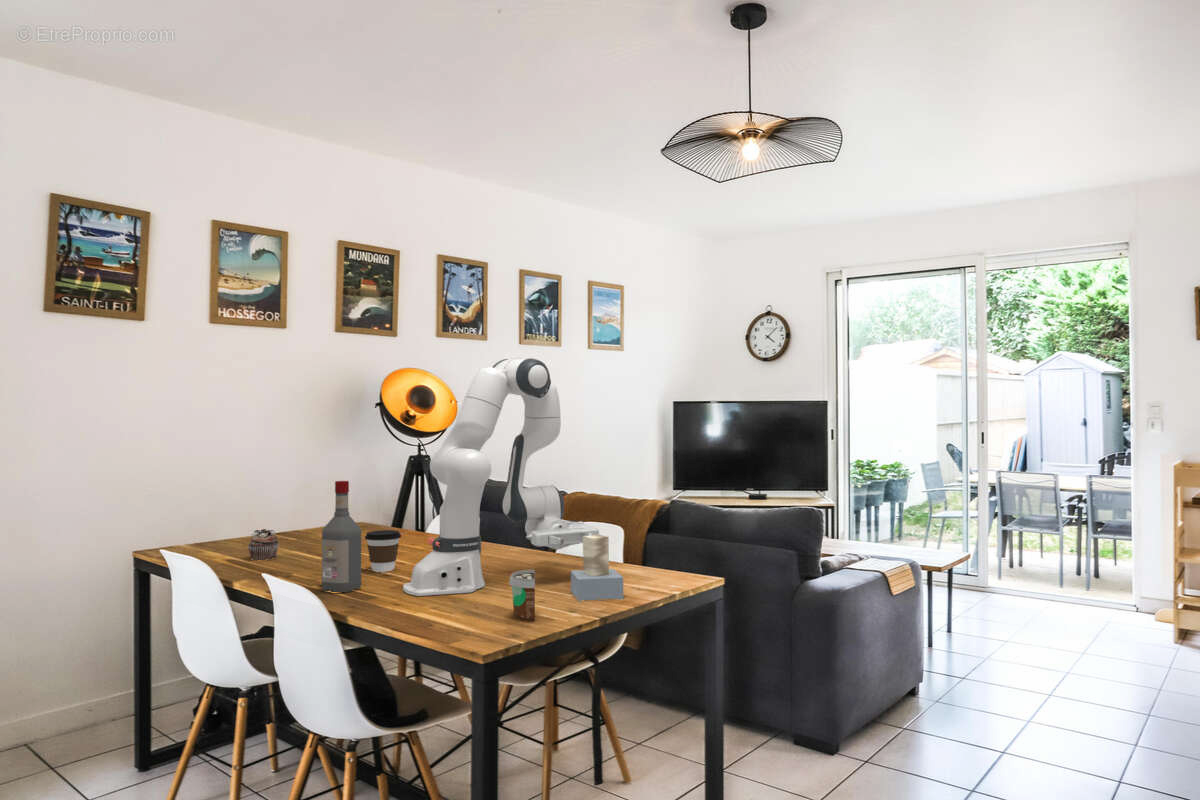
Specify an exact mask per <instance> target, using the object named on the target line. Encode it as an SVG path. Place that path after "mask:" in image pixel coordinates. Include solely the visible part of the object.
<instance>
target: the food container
mask: <svg viewBox="0 0 1200 800" xmlns="http://www.w3.org/2000/svg"><path fill="white" fill-rule="evenodd" d="M535 571H536V569H526V570H525V569H524V570H519V571H515V572H512V573H511V576H510V577H509V582H508V585H510V586H511V591H512V592H511V593H512V594H511V595H512V605H513V618H514V617H515V618H514V619H516V618H517V619H516V620H518V619H520V620H519V621H523V620H528V621H527V622H535V621H536V586H535V585H536V577H535V576H536V575H535V574H536V573H535Z"/></svg>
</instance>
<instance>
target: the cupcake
mask: <svg viewBox="0 0 1200 800" xmlns="http://www.w3.org/2000/svg"><path fill="white" fill-rule="evenodd" d="M251 536H252V537H251V538H250V542H249V544H248V545H247V548H248V552H249V559H250V560H251V559H253V560H266V559H272V558H275V557H276V558H277V554H278V550H279V540H278V536H276V531H275V530H273V529H268V530H267V529H265V528H262V529H260V530H259V529H256V530H254V531H253V532H252V533H251ZM276 558H275V559H276Z"/></svg>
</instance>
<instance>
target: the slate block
mask: <svg viewBox="0 0 1200 800" xmlns="http://www.w3.org/2000/svg"><path fill="white" fill-rule="evenodd" d="M570 593H571V594H572V593H573V594H572V595H573V597H574V598H575V597H576V598H577V599H576V598H575V599H576V601H577V600H578V601H577V602H582V601H581V600H597V599H599V600H598V601H605V600H604V599H618V600H624V577H623V576H622V575H621V574H620V573H619V571H616V570H615V568H609V574H608V575H601V576H594V577H593V576H590V575H586V574H583V569H580V570H578V569H577V570H576V569H575V570H573V569H572V570H570ZM601 599H603V600H601Z"/></svg>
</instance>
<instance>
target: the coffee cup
mask: <svg viewBox="0 0 1200 800" xmlns="http://www.w3.org/2000/svg"><path fill="white" fill-rule="evenodd" d="M364 538H365V540H366V541H367V544H366V545H367V551H368V557H369V562H370V567H371V571H372V572H373V571H376V572H386V571H391V570H393V569H394V570H395V567H396V561H397V556H398V551H399V546H400V545H399V544H400V543H399V541H400V538H402V534H401V533H400V531H399V530H392V529H389V530H387V529H383V530H382V529H380V530H372V531H367V532H366V535H364ZM394 570H393V571H394Z"/></svg>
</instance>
